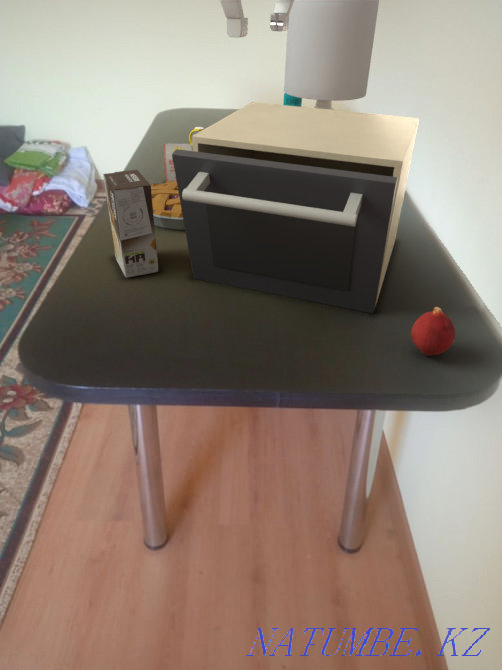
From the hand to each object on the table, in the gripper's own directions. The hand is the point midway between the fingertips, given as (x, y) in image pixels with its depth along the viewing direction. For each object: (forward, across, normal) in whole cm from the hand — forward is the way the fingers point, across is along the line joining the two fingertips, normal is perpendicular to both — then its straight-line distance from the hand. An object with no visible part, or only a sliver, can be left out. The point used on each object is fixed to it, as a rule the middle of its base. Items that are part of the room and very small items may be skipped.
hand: (259, 33), depth 59 cm
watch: (+39, +73, +64) cm, 104 cm away
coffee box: (+39, +4, +28) cm, 48 cm away
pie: (+39, +29, +35) cm, 60 cm away
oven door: (+40, +7, 0) cm, 40 cm away
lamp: (+39, +79, +26) cm, 92 cm away
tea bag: (+39, +44, +48) cm, 76 cm away
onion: (+40, +6, -26) cm, 48 cm away
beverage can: (+39, +100, +45) cm, 116 cm away
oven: (+39, +24, +4) cm, 46 cm away
